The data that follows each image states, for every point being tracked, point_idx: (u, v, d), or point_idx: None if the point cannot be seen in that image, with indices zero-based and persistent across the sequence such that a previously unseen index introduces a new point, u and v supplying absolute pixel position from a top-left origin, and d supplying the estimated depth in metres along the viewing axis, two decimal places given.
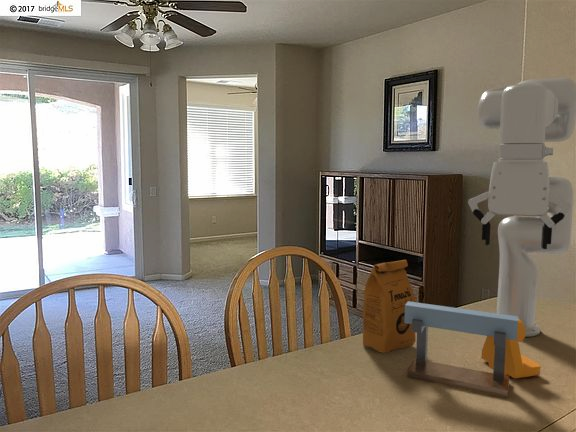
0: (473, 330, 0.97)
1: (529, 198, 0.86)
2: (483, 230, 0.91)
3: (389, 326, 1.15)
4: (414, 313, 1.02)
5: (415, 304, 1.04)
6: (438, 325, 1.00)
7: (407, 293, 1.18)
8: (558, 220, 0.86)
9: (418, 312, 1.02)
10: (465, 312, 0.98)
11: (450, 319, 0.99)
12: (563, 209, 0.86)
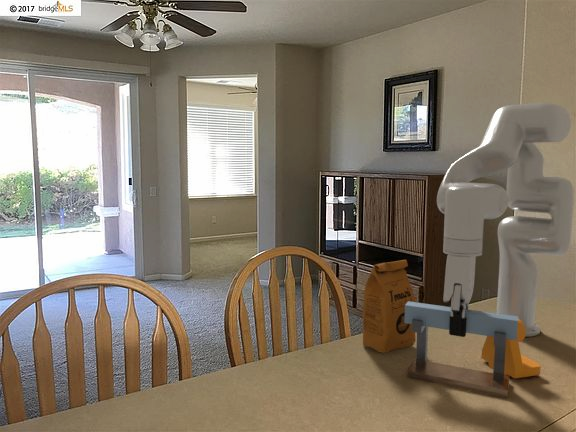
0: (473, 330, 0.97)
1: None
2: (461, 324, 0.97)
3: (389, 326, 1.15)
4: (414, 313, 1.02)
5: (415, 304, 1.04)
6: (438, 325, 1.00)
7: (407, 293, 1.18)
8: None
9: (418, 312, 1.02)
10: (465, 312, 0.98)
11: None
12: None
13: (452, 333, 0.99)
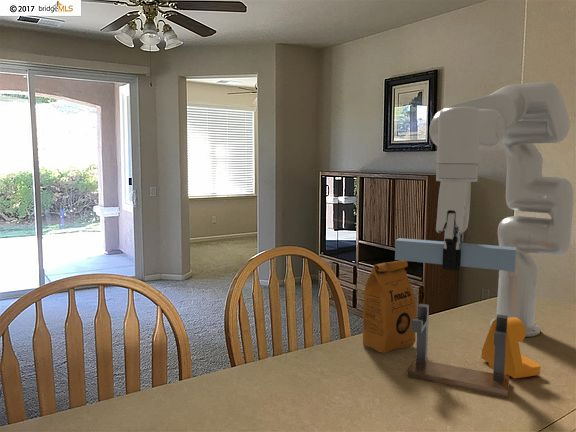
0: (468, 263, 0.91)
1: None
2: (455, 257, 0.91)
3: (389, 326, 1.15)
4: (405, 248, 0.96)
5: (406, 239, 0.97)
6: (431, 260, 0.94)
7: (407, 293, 1.18)
8: None
9: (410, 246, 0.95)
10: None
11: None
12: None
13: (445, 267, 0.92)
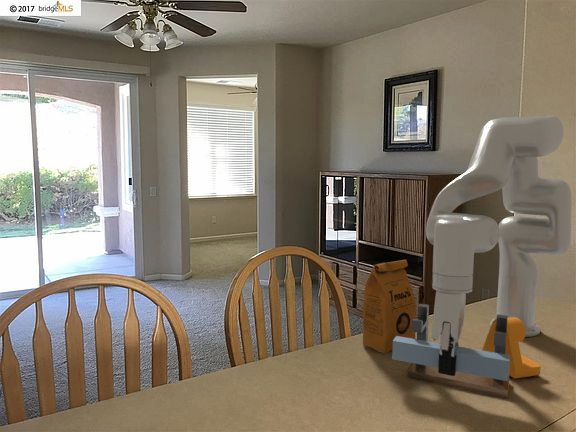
0: (463, 369, 0.93)
1: None
2: (451, 363, 0.93)
3: (389, 326, 1.15)
4: (402, 349, 0.99)
5: (403, 339, 1.00)
6: (427, 362, 0.97)
7: (407, 293, 1.18)
8: None
9: (407, 348, 0.98)
10: None
11: None
12: None
13: (441, 371, 0.95)
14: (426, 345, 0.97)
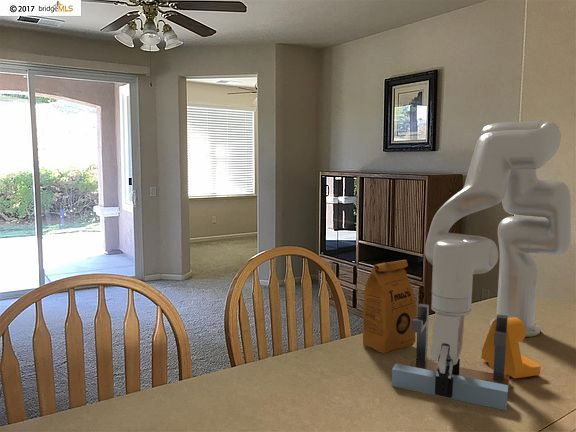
0: (462, 398, 0.94)
1: None
2: (447, 385, 0.91)
3: (389, 326, 1.15)
4: (402, 377, 0.99)
5: (402, 368, 1.01)
6: (426, 391, 0.97)
7: (407, 293, 1.18)
8: None
9: (406, 376, 0.99)
10: (453, 380, 0.95)
11: None
12: None
13: (438, 393, 0.93)
14: (425, 374, 0.98)
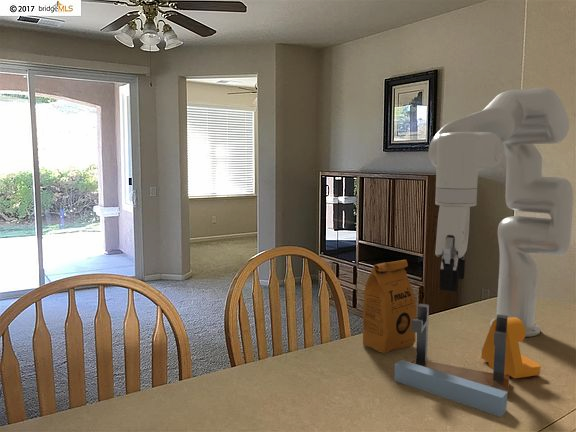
0: (458, 400, 0.94)
1: None
2: (452, 277, 0.88)
3: (389, 326, 1.15)
4: (403, 373, 1.01)
5: (406, 364, 1.02)
6: (425, 389, 0.98)
7: (407, 293, 1.18)
8: None
9: (407, 373, 1.01)
10: (451, 380, 0.95)
11: (436, 385, 0.97)
12: None
13: (443, 288, 0.90)
14: (425, 372, 0.99)
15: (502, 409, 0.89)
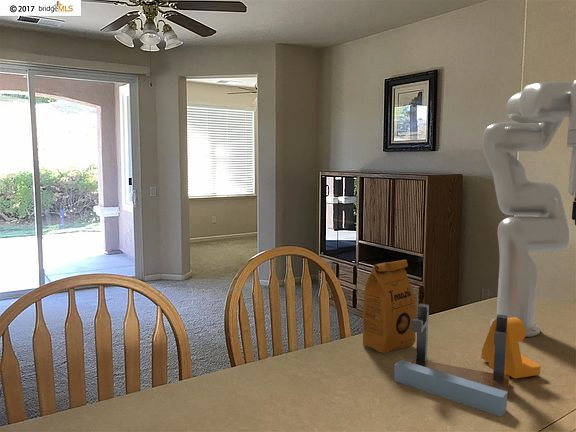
0: (458, 400, 0.94)
1: None
2: None
3: (389, 326, 1.15)
4: (403, 373, 1.01)
5: (406, 364, 1.02)
6: (425, 389, 0.98)
7: (407, 293, 1.18)
8: None
9: (407, 373, 1.01)
10: (451, 380, 0.95)
11: (436, 385, 0.97)
12: None
13: None
14: (425, 372, 0.99)
15: (502, 409, 0.89)
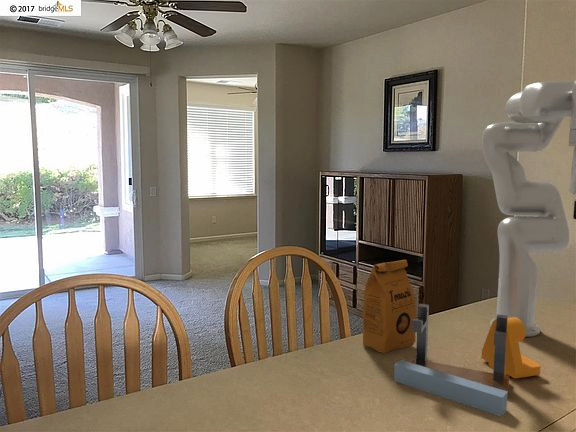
0: (458, 400, 0.94)
1: None
2: None
3: (389, 326, 1.15)
4: (403, 373, 1.01)
5: (406, 364, 1.02)
6: (425, 389, 0.98)
7: (407, 293, 1.18)
8: None
9: (407, 373, 1.01)
10: (451, 380, 0.95)
11: (436, 385, 0.97)
12: None
13: None
14: (425, 372, 0.99)
15: (502, 409, 0.89)
